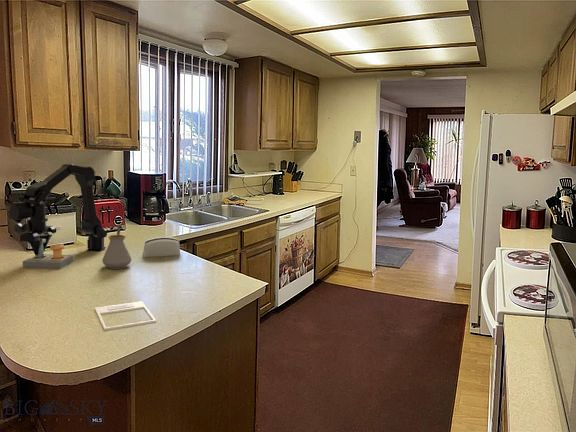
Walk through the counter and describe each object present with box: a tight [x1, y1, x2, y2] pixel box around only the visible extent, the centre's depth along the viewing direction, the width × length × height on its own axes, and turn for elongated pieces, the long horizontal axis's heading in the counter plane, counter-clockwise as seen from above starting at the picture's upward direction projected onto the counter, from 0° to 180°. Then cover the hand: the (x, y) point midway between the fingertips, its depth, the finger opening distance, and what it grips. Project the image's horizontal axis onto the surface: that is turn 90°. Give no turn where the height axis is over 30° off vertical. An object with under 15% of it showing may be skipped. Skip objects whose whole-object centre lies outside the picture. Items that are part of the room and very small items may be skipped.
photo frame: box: [94, 300, 157, 331], centre depth 144 cm, size 15×1×18 cm
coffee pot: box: [101, 224, 133, 270], centre depth 199 cm, size 21×12×15 cm, turn 15°
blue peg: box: [34, 238, 46, 259], centre depth 194 cm, size 5×5×8 cm
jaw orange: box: [49, 243, 65, 259], centre depth 194 cm, size 5×5×8 cm
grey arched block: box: [142, 236, 181, 258], centre depth 215 cm, size 17×5×10 cm, turn 113°
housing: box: [22, 253, 75, 270], centre depth 194 cm, size 15×12×3 cm
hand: (39, 253), depth 194 cm, fingers closed on blue peg, 4 cm apart
